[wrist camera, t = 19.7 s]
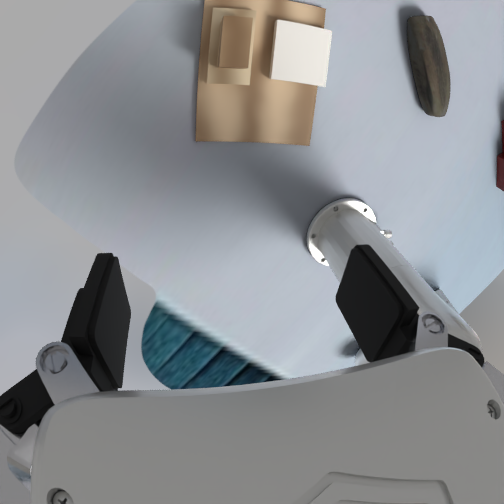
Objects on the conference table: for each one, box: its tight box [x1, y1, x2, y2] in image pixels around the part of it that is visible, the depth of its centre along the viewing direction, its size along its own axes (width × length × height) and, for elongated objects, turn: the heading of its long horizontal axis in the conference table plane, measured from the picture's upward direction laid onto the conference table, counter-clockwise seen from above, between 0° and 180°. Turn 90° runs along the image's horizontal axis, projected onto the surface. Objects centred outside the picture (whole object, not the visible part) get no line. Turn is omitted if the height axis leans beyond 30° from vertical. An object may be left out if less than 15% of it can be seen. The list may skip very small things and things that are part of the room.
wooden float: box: [207, 8, 256, 85], centre depth 25 cm, size 5×10×5 cm, turn 175°
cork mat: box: [196, 0, 326, 146], centre depth 30 cm, size 15×20×1 cm
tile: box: [269, 20, 332, 87], centre depth 28 cm, size 7×1×8 cm
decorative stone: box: [407, 15, 450, 117], centre depth 30 cm, size 17×6×4 cm, turn 14°
